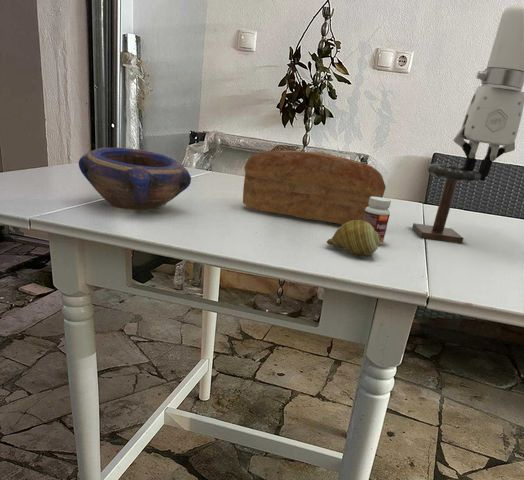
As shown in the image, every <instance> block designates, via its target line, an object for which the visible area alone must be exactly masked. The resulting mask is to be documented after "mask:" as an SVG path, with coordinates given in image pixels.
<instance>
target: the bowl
mask: <svg viewBox="0 0 524 480" xmlns="http://www.w3.org/2000/svg"><path fill="white" fill-rule="evenodd" d="M78 168H79V170H80V173H81V174H82V175H83V177H84V178H85V179H86V180H87V181H88V182H89V184H90V185H91V186H92V187H93V189H94V190H95V191H96V192H97V193H98V194H99V195H100V196H101V197H102V198H103V199H104V200H105V201H106V202H107V203H108V204H109V205H110V206H111V207H113V208H115V209H119V210H125V211H151V210H158V209H160V208H161V207H163V206H164V205H165V206H166V205H167V204H168V203H170V201H172V200H174V199H175V198H176V197H177V196H179V195H180V194H181V193H182V192H184V191H185V190H187V189H188V188H189V186H190V185H191V182H192V176H191V174H190V172H189V171H188V169H187V168H186V167H185V166H184V165H183V164H181V162H179V161H177V160H175V159H174V158H172V157H169V156H167V155H165V154H162V153H157V152H152V151H147V150H143V149H139V148H128V147H99V148H96V149H93V150H90V151H88V152H87V153H85V154H84V155H82V156H81V157H79V159H78Z"/></svg>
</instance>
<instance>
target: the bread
mask: <svg viewBox="0 0 524 480" xmlns="http://www.w3.org/2000/svg"><path fill="white" fill-rule="evenodd" d="M244 173H245V174H244V180H243V189H242V190H243V191H242V203H243V205H244V206H245V207H247V208H248V209H251V210H255V211H257V212H259V211H260V212H267V213H272V214H273V213H274V214H279V215H280V214H281V215H288V216H293V217H296V218H301V219H307V220H314V221H322V222H328V223H334V224H338V225H341V226H342V225H343V224H345V223H346V222H349V221H352V220H362V221H363V217H364V213H365V209H366V207H368V206H369V199H370V197H381V198H384V194H385V191H386V183H385V180H384V178H383V175H382V173H380V171H379V170H378V169H376V168H374V167H373V166H372V165H369V164H367V163H364V162H362V161H361V162H360V161H357V160H354V159H350V158H346V157H343V156H338V155H334V154H330V153H327V152H320V151H302V150H284V149H283V150H281V149H280V150H279V149H275V150H265V151H261V152H258V153H255V154H253V155H251V156H250V157H249V158H247V160H246V162H245V166H244Z"/></svg>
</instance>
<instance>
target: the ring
mask: <svg viewBox="0 0 524 480" xmlns="http://www.w3.org/2000/svg"><path fill="white" fill-rule="evenodd" d="M463 168H464V166H461V165H455V164H448V163H447V164H446V163H430V164H428V166H427V167H426V172H427V174H429V175H430V176H433V177H438V178H442V179H445V180H446V179H452V180H458V181H459V182H471V183H472V182H473V183H474V182H475V183H476V182H478V181H481V180H480V179H481V178H482V173H481V172H480V171H479V169H478V170H477V169H476V168H474V170H473V171H464V170H463Z"/></svg>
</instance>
